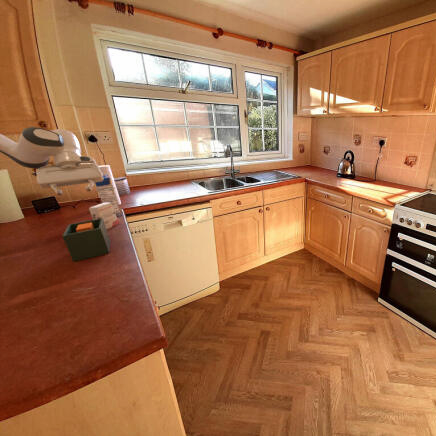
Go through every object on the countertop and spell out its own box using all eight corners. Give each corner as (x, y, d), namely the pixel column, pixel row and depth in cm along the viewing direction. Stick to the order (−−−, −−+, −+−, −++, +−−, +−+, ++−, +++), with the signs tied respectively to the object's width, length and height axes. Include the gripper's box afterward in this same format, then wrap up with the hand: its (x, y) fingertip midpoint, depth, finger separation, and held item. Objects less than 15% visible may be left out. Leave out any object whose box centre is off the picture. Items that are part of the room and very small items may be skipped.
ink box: (111, 223, 128) (104, 201, 124) (119, 223, 127) (112, 202, 123) (96, 230, 121) (87, 207, 116) (104, 230, 120) (96, 207, 115)
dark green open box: (73, 261, 93) (62, 236, 89) (78, 248, 103) (68, 224, 99) (109, 252, 99) (100, 228, 94) (110, 240, 109) (102, 218, 105)
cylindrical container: (106, 205, 158) (93, 166, 148) (118, 202, 163) (106, 164, 154) (110, 207, 154) (97, 167, 145) (123, 203, 159) (111, 165, 150)
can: (119, 196, 176) (114, 180, 172) (109, 195, 180) (104, 179, 176) (134, 192, 186) (129, 176, 182) (124, 191, 190) (119, 176, 186)
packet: (84, 252, 97) (75, 229, 94) (86, 246, 102) (78, 224, 98) (98, 249, 100) (90, 226, 96) (99, 243, 104) (91, 222, 101)
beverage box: (107, 218, 135) (94, 179, 126) (106, 213, 143) (93, 176, 134) (121, 215, 139) (109, 177, 130) (119, 210, 147) (108, 174, 138)
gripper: (31, 162, 93) (34, 192, 89) (97, 157, 103) (103, 184, 99) (39, 172, 98) (43, 201, 94) (101, 166, 108) (107, 192, 104)
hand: (74, 192), depth 96 cm, fingers open, 8 cm apart
